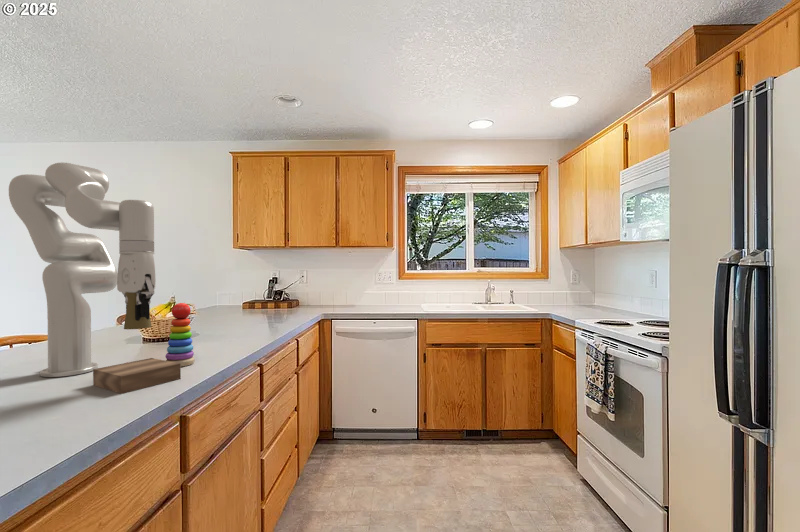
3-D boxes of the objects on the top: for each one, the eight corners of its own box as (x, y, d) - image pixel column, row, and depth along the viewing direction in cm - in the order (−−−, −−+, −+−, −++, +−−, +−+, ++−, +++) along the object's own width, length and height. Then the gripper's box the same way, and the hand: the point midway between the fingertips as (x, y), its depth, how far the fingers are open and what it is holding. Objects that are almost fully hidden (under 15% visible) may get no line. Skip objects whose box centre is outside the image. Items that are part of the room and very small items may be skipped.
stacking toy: (181, 368, 115) (181, 304, 115) (158, 367, 116) (157, 304, 117) (200, 362, 123) (200, 302, 123) (178, 361, 124) (177, 301, 124)
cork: (149, 325, 106) (148, 284, 106) (153, 327, 101) (153, 284, 101) (121, 327, 102) (121, 285, 102) (125, 330, 97) (125, 285, 97)
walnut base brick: (93, 385, 99) (93, 369, 99) (151, 372, 111) (151, 357, 111) (121, 393, 92) (121, 376, 92) (180, 378, 104) (180, 363, 104)
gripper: (104, 249, 103) (105, 319, 102) (138, 246, 94) (139, 323, 94) (136, 250, 109) (136, 316, 109) (170, 247, 101) (170, 319, 101)
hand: (137, 318), depth 101 cm, fingers closed on cork, 3 cm apart
